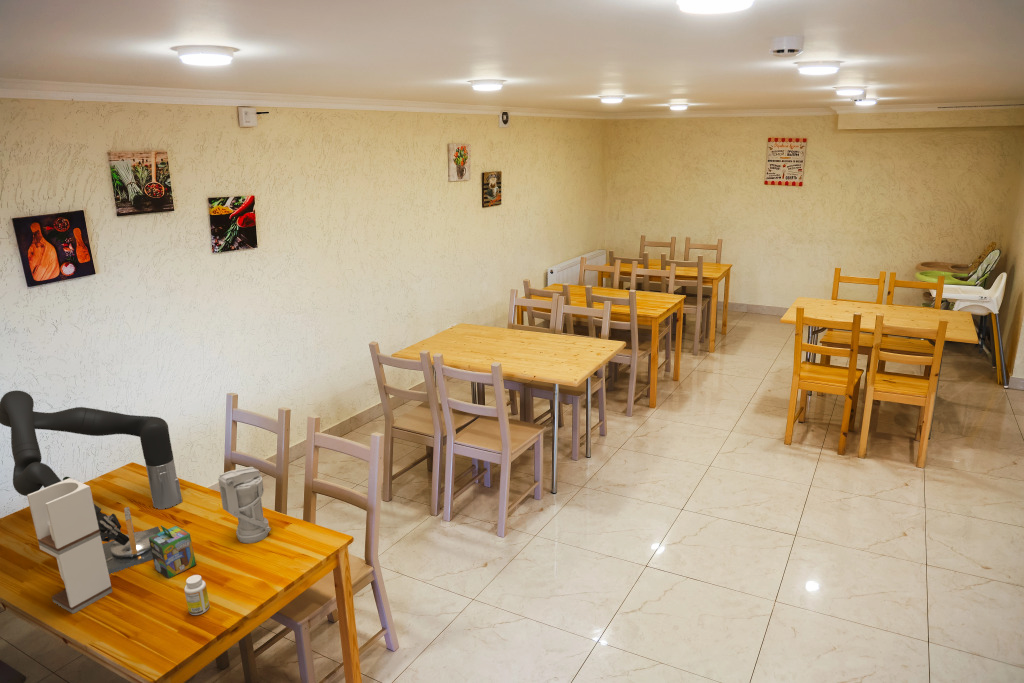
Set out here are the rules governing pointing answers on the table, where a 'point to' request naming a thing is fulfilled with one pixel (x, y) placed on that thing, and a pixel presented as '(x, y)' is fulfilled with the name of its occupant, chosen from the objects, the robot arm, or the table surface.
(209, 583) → the table surface
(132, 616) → the table surface
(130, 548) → the dial
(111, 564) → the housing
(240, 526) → the gray strapped canister
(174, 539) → the chalk box
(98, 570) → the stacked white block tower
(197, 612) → the supplement bottle
